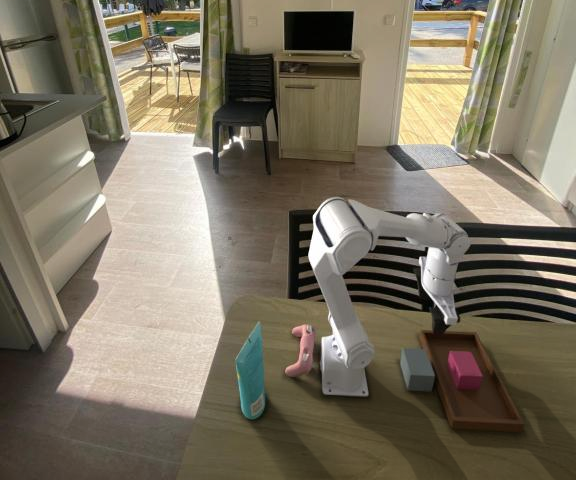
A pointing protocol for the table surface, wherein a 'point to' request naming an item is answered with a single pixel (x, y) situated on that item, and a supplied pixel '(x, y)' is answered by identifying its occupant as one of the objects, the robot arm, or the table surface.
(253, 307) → the table surface
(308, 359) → the video game controller
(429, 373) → the grey block
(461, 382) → the plum block
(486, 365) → the tray
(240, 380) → the tube
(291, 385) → the table surface
